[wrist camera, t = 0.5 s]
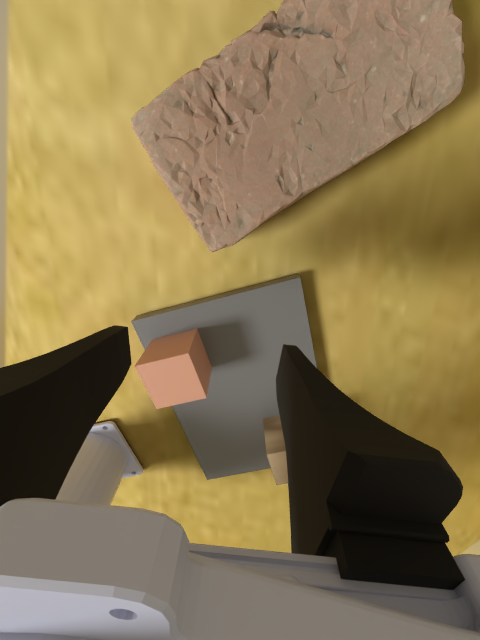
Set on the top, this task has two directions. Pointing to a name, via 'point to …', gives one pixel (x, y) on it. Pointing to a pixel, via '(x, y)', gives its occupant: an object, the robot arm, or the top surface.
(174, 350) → the terracotta block
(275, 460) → the maple block
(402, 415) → the top surface
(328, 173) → the brick
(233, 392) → the plate
